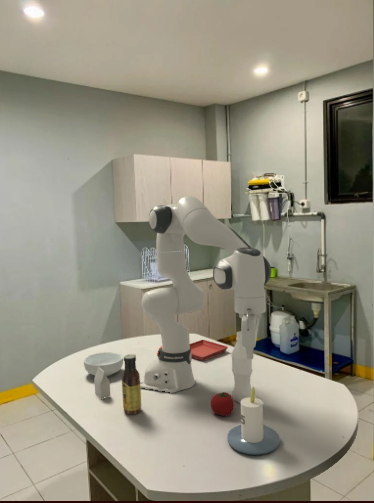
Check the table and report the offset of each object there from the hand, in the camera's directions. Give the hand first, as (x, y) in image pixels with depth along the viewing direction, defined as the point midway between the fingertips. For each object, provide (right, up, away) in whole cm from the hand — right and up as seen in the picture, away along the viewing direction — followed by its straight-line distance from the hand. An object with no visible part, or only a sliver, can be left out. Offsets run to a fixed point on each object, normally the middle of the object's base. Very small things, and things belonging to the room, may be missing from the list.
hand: (251, 352), depth 116 cm
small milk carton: (-51, -26, +38) cm, 68 cm away
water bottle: (+2, -25, +29) cm, 38 cm away
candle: (+1, -25, +2) cm, 26 cm away
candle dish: (+1, -27, +2) cm, 27 cm away
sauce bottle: (-37, -27, +24) cm, 52 cm away
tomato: (-6, -26, +20) cm, 33 cm away
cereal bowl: (-54, -24, +59) cm, 84 cm away
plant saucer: (-11, -21, +80) cm, 84 cm away
